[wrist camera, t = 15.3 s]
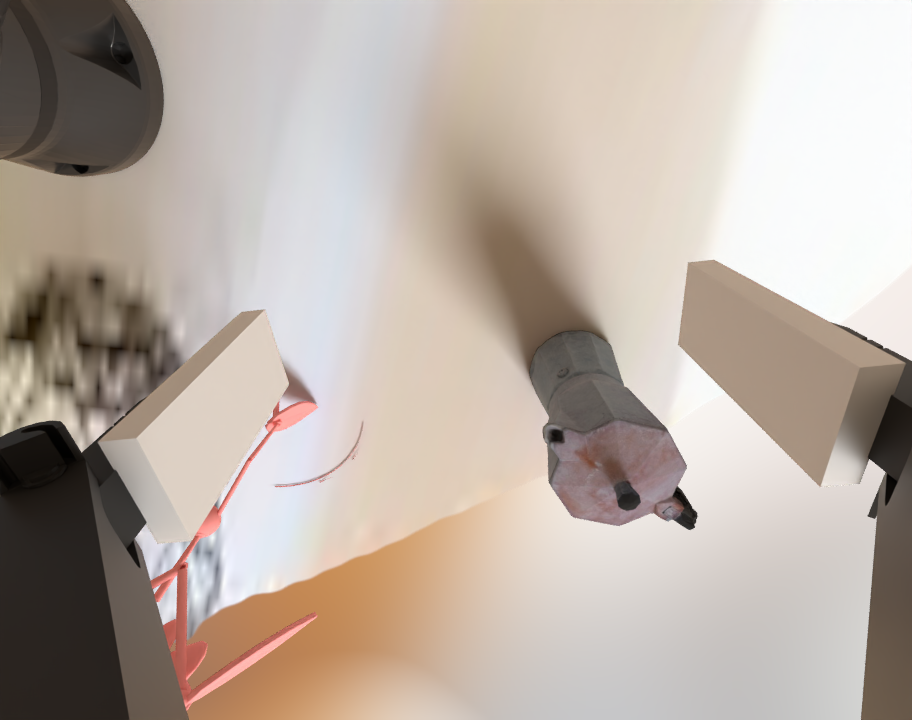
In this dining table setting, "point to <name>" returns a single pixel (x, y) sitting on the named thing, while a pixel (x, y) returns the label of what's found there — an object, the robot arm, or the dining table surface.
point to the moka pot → (604, 437)
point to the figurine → (192, 654)
